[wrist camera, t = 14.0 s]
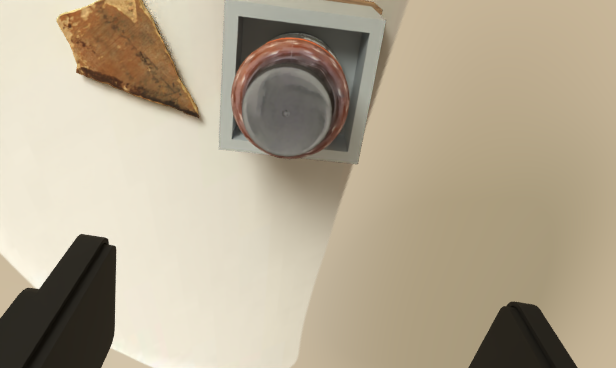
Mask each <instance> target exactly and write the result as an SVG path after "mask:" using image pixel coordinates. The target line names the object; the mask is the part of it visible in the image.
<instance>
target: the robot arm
mask: <svg viewBox="0 0 616 368" xmlns="http://www.w3.org/2000/svg"><path fill="white" fill-rule="evenodd" d="M115 285H116V247H115V246H113V245H109V241H108V239H107V238H104V237H97V236H91V235H84V234H80V235H79V236H78V237H77V238H76V239H75V241H74V242H73V244H72V245H71V246H70V248H69V249H68V250H67V252H66V253H65V255H64V256H63V257H62V259H61V260H60V261H59V263H58V264H57V266H56V267H55V268H54V270H53V271H52V272H51V274H50V275H49V277H48V278H47V279H46V281H45V282H44V283H43V285H42V286H41V288H40V289H33V288H26V289H25V290H23V291H22V292H21V293H20V294H19V295H18V296H17V298H16V299H15V300H14V301H13V303H12V304H11V305H10V307H9V308H8V309H7V311H6V312H5V313H4V314H3V316H2V317H1V318H0V368H101V367H102V365H103V362H104V360H105V358H106V356H107V353H108V351H109V349H110V347H111V344H112V341H113V337H114V330H115ZM469 368H577V366H576V365H575V363H574V362H573V360H572V359H571V357H570V355H569V354H568V352H567V351H566V349H565V348H564V346H563V345H562V343H561V341H560V340H559V339H558V337H557V335H556V334H555V332H554V331H553V329H552V327H551V326H550V324H549V323H548V321H547V320H546V318H545V317H544V315H543V313H542V312H541V310H540V309H539V308H538V307H537V306H535V305H532V304H526V303H520V302H510V303H509V304H508V305H507V306H504V307H502V308H501V309H500V311H499V313H498V314H497V316H496V318H495V320H494V322H493V323H492V325H491V327H490V329H489V331H488V333H487V335H486V336H485V338H484V340H483V342H482V344H481V346H480V347H479V349H478V351H477V353H476V355H475V357H474V359H473V361H472V362H471V364H470V366H469Z"/></svg>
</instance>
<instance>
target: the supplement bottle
mask: <svg viewBox="0 0 616 368" xmlns="http://www.w3.org/2000/svg"><path fill="white" fill-rule="evenodd" d="M349 101H350V98H349V89H348V84H347V81H346V78H345V75H344V72H343V70H342V68H341V65H340V63H339V61H338V59H337V57H336V55H335V53H334V52H333V50H332V49H331V48H330V47H329V46H328V45H327V44H326V43H325V42H323V41H322V40H321V39H319V38H317V37H316V36H313V35H311V34H308V33H303V32H288V33H284V34H281V35H278V36H276V37H275V38H273V39H272V40H270V41H268V42H267V43H265V44H264V45H262V46H261V47H259V48H258V49H256V50H255V51H253V52H252V53H251V54H250V55H249V56H248V57H247V58H246V59H245V60H244V61H243V63H242V64H241V66H240V67H239V69H238V71H237V73H236V76H235V78H234V81H233V85H232V91H231V105H232V111H233V115H234V118H235V121H236V123H237V125H238V127H239V129H240V130H241V132H242V133H243V135H244V136H245V137H246V138H247V140H248V141H249V142H250V143H252V144H253V145H254V146H255V147H257V148H258V149H260V150H261V151H263V152H265V153H267V154H269V155H271V156H275V157H278V158H286V159H293V158H303V157H307V156H310V155H313V154H315V153H318V152H320V151H321V150H323V149H324V148H326V147H327V146H328V145H329V144H330V143H331V142H332V141H333V140H334V139H335V138H336V137H337V136H338V134H339V133H340V131H341V129H342V128H343V125H344V123H345V121H346V118H347V115H348V109H349Z"/></svg>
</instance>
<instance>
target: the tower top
mask: <svg viewBox="0 0 616 368" xmlns="http://www.w3.org/2000/svg"><path fill="white" fill-rule="evenodd" d="M385 24H386V20H385V19H384V18H383V17H382V16H381V15H380V14H379V13H378V12H377V11H376V10H375V9H374V8H373V7H371V6H363V5H356V4H349V3H341V2H334V1H326V0H225V7H224V31H223V56H222V81H221V105H220V130H219V149H221V150H230V151H239V152H248V153H258V154H267V153H265V152H263V151H261V150H260V149H258V148H257V147H255V146H254V145H253V144H252V143H250V142H249V141H248V140H247V138H246V137H245V136H244V135H243V133H242V132H241V130H240V129H239V127H238V125H237V123H236V121H235V118H234V115H233V111H232V105H231V91H232V85H233V81H234V78H235V76H236V73H237V71H238V69H239V67H240V66H241V64H242V63H243V61H244V60H245V59H246V58H247V57H248V56H249V55H250V54H251V53H252V52H253V51H255V50H256V49H258V48H259V47H261V46H262V45H264V44H265V43H267V42H268V41H270V40H272V39H273V38H275V37H276V36H278V35H281V34H284V33H288V32H303V33H308V34H311V35H313V36H316V37H317V38H319V39H321V40H322V41H323V42H325V43H326V44H327V45H328V46H329V47H330V48H331V49H332V50H333V52H334V53H335V55H336V57H337V59H338V61H339V63H340V65H341V68H342V70H343V72H344V75H345V78H346V81H347V84H348V89H349V98H350V101H349V109H348V115H347V118H346V121H345V123H344V125H343V128H342V129H341V131H340V133H339V134H338V136H337V137H336V138H335V139H334V140H333V141H332V142H331V143H330V144H329V145H328V146H327V147H326V148H324V149H323V150H321V151H320V152H318V153H315V154H313V155H310V156H307V157H303V158H304V159H313V160H322V161H331V162H340V163H350V164H358V161H359V156H360V150H361V146H362V141H363V136H364V131H365V126H366V121H367V115H368V110H369V105H370V100H371V95H372V90H373V85H374V80H375V75H376V70H377V65H378V60H379V55H380V50H381V44H382V39H383V34H384V29H385ZM267 155H269V154H267Z"/></svg>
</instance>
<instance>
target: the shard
mask: <svg viewBox="0 0 616 368" xmlns="http://www.w3.org/2000/svg"><path fill="white" fill-rule="evenodd" d="M57 23H58V25H59V27H60V29H61V30H62V32H63V33H64V35H65V37H66V39H67V41H68V42H69V44H70V47H71V49H72V51H73V55H74V57H75V60H76V63H77V69H76V73H79V74H81V75H85V76H86V77H89V78H92V79H94V80H96V81H99V82H102V83H106V84H109V85H111V86H113V87H114V88H117V89H120V90H123V91H126V92H128V93H130V94H132V95H135V96H138V97H141V98H143V99H147V100H149V101H152V102H155V103H159V104H162V105H165V106H170V107H173V108H176V109H178V110H180V111H183V112H184V113H186V114H188V115H192V116H195V117H198V118H199V115H198V111H197V109H198V108H197V106H196V104H195V103H194V101H193V99H192V97H191V95H190V93H189V92H188V90H187V89H186V87H185V86H184V84H183V83H182V81H181V80H180V78H179V77H178V75H177V73H176V69H175V66H174V63H173V60H172V59H171V57H170V55H169V53H168V52H167V50H166V47H165V44H164V42H163V40H162V38H161V36H160V35H159V33H158V31H157V28H156V26H155V23H154V20H153V18H152V17H151V15H150V14H149V12H148V10H147V9H146V8H145V6H144V4H143V2H142V0H98V1H96V2H94V3H92V4H90V5H88V6H85V7H82V8H79V9H76V10H73V11H70V12H65V13H63V14H61V15H59V17H58V18H57Z"/></svg>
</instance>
